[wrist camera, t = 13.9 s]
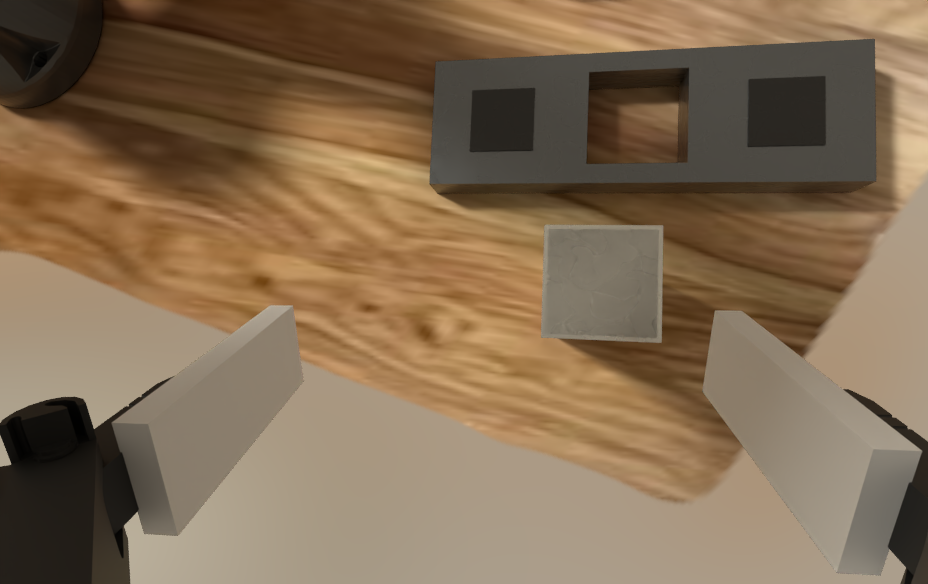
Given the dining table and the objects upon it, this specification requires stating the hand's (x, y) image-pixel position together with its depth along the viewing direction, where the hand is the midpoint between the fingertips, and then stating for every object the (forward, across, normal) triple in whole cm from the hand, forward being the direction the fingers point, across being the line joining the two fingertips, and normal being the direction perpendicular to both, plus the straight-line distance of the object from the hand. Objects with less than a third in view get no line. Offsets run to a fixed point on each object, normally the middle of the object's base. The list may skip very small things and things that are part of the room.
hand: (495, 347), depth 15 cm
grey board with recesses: (+23, +9, +6) cm, 26 cm away
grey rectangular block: (+19, +6, -5) cm, 21 cm away
